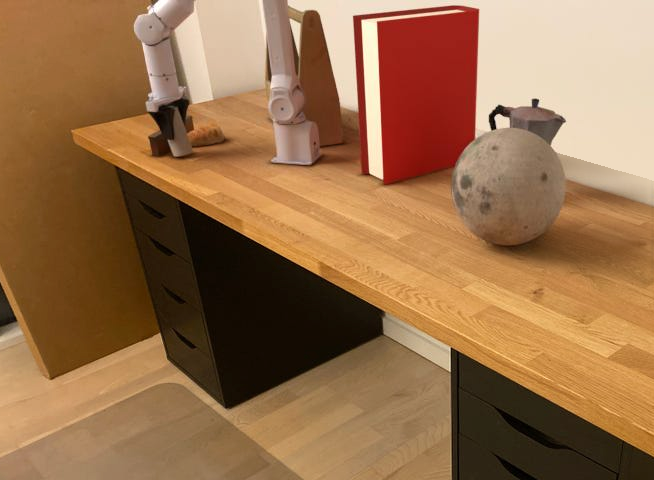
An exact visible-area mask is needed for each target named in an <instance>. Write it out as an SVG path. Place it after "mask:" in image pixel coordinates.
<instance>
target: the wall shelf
mask: <svg viewBox="0 0 654 480" xmlns="http://www.w3.org/2000/svg"><path fill="white" fill-rule="evenodd" d="M193 118H194V117H193V115H189V114H186V121H185V129H186V132H187V133H188V132H190V131H193V130H194V129H195V127H194V120H193ZM147 139H148V141H149V145H150V150H151V154H152V157H160V156H162V155H164V154H165V153H167V152H169V151H170V150H171V148H170V145H169V142H168V140H165V139H164V137H163V135H162V133H161V131H160V129H158V130H157V131H155V132H153V133H151V134H150V135H148V136H147Z"/></svg>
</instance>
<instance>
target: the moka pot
mask: <svg viewBox="0 0 654 480" xmlns="http://www.w3.org/2000/svg"><path fill="white" fill-rule="evenodd" d="M539 104H540V99H539V98H531V105H530V106H528V105H526V106H524V105H523V106H522V105H521V106H518V107H517V106H516V107H513V106H505V105H502V104H498V105H497V106H495V108H494V109H492V110H491V112H490V113H489V114H488V125H489V128H490V131H492V130H495V129H498V128H497V123H496V116H497V115H501V116H502V117H504V118H508V119H509V128H519V129H523V130H527V131H530V132H532V133H534V134H536V135H538V136H539V137H541V138H542V139H544V140H545V141H546V142H547V143H548V144H549V145H550V146H551V147H552V142H553V140H554V139H555V138H556V136H557V134H558V132H559V131H560V129H561V127H562V126H563V124H565V123H567V120H566V118H565V117H563V116H562V115H560V114H558V113H556V112H555V111H554V110H551V109H548V108H545V107H541V106H539Z"/></svg>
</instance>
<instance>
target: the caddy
mask: <svg viewBox="0 0 654 480" xmlns="http://www.w3.org/2000/svg"><path fill="white" fill-rule="evenodd" d="M288 9H289V18H290V20H292V21H294V22H295V23H298V24H300V26H299V27H300V28H299V46H298V47H299V49H298V48H297V44H296V40H295V36H294V33H293V28H292V24H291V23H290V28H291V37H292V46H293V55H294V64H295V73H296V75H297V76H298V78H299V80H300V86H301V89H302V91H303V92H304V94H305V97H306V103H305V106H304V108H303V109H302V111H303V113H304V115H305V117H306V120H308V121H313V122H315V123H316V124H317V127H318V134H319V145H320V147H325V146H330V145H336V144H343V142H344V141H343V140H344V139H343V138H344V137H343V124H342V113H341V102H340V96H339V92H338V88H337V83H336V78H335V74H334V71H333V66H332V61H331V56H330V53H329V52H330V51H329V47H328V44H327V39H326V35H325V30H324V27H323V23H322V18H321V15H320V13H319V12H318V10H316V9H305V10H304V11H301V10H298V9H296V8H294V7H291V6H290V5H288ZM271 79H272V73H271V65H270V58H269V50H268V42H267V34H266V33H265V64H264V85H265V89H266V91H265V92H266V97H267V104H268V103H269V100H270V97H271V91H270V86H271ZM269 118H270V120H272V121H273V117H272V116H271V115H270V114H269Z"/></svg>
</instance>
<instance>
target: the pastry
mask: <svg viewBox="0 0 654 480" xmlns="http://www.w3.org/2000/svg"><path fill="white" fill-rule="evenodd" d="M187 135H188V138H189V140H190V143H191V146H192V147H200V146H207V145H214V144H220V143H222V142H224V139H225V134H224V132H223V130H222V129H221V127H220V126H219V124H217V123H215V122H214V123H209V124H205V125H204V124H203V125H200V126H197V127H195V128H194V130H193V131H190V132H188V133H187Z"/></svg>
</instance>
